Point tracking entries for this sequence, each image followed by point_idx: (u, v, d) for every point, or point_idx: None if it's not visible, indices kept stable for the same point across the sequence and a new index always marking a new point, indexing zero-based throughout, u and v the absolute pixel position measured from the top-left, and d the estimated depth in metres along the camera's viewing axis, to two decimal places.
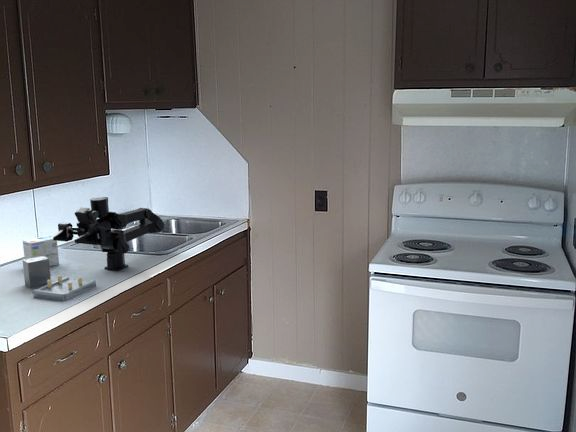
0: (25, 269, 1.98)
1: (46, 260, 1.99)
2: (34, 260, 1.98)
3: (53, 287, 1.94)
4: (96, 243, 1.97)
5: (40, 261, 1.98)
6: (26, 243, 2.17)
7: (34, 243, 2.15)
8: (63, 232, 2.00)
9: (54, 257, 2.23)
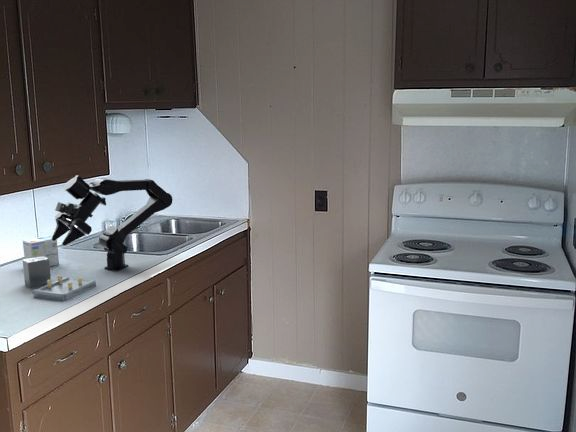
0: (25, 269, 1.98)
1: (46, 260, 1.99)
2: (34, 260, 1.98)
3: (53, 287, 1.94)
4: (83, 235, 2.01)
5: (40, 261, 1.98)
6: (26, 243, 2.17)
7: (34, 243, 2.15)
8: (59, 227, 2.08)
9: (54, 257, 2.23)
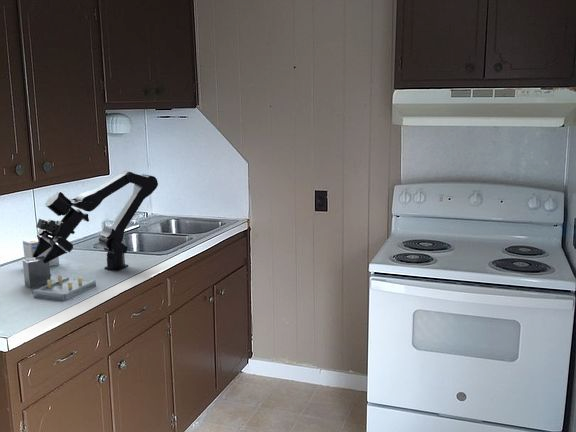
0: (25, 269, 1.98)
1: None
2: (34, 260, 1.98)
3: (53, 287, 1.94)
4: (65, 252, 1.98)
5: (40, 261, 1.98)
6: (26, 243, 2.17)
7: (34, 243, 2.15)
8: (41, 244, 2.04)
9: None
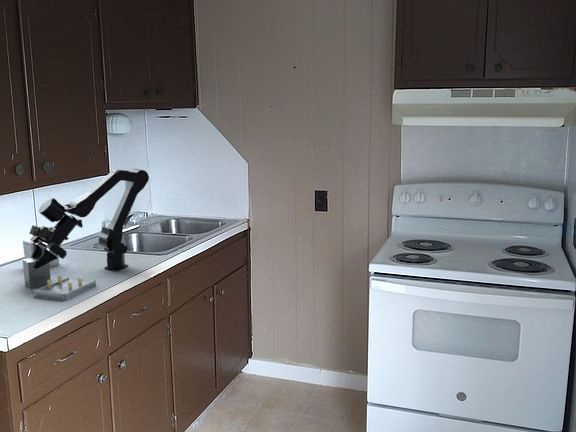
0: (25, 269, 1.98)
1: None
2: (34, 260, 1.98)
3: (53, 287, 1.94)
4: (56, 258, 1.98)
5: None
6: (26, 243, 2.17)
7: None
8: (36, 251, 2.02)
9: None
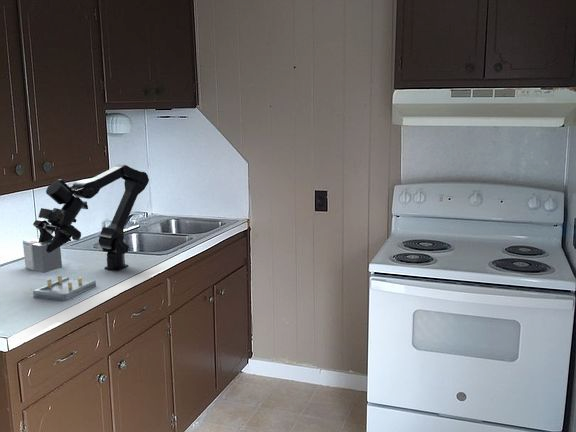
0: (36, 253, 1.91)
1: None
2: (45, 244, 1.92)
3: (53, 287, 1.94)
4: (69, 240, 1.94)
5: None
6: (26, 243, 2.17)
7: (34, 243, 2.16)
8: (44, 235, 1.96)
9: None
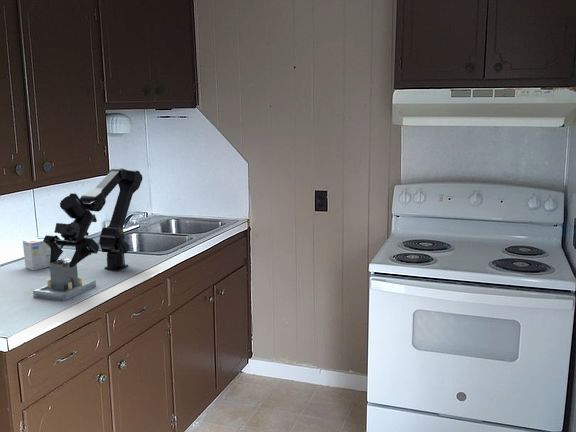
0: (55, 273, 1.89)
1: None
2: (64, 262, 1.90)
3: None
4: (89, 254, 1.94)
5: None
6: (26, 243, 2.17)
7: (34, 243, 2.15)
8: (55, 250, 1.94)
9: None
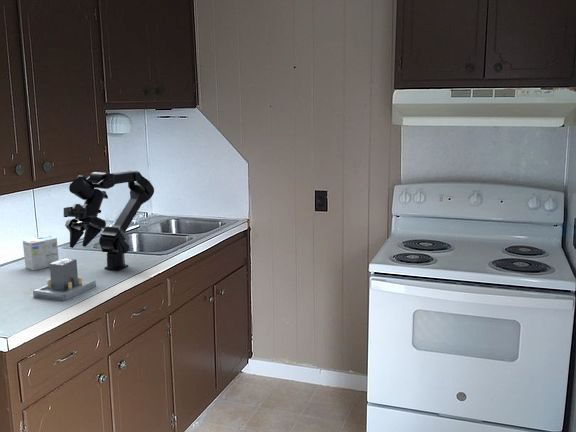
0: (55, 273, 1.89)
1: (74, 261, 1.93)
2: (64, 262, 1.90)
3: None
4: (100, 230, 1.98)
5: (70, 262, 1.92)
6: (26, 243, 2.17)
7: (34, 243, 2.15)
8: (73, 233, 2.05)
9: (54, 257, 2.23)
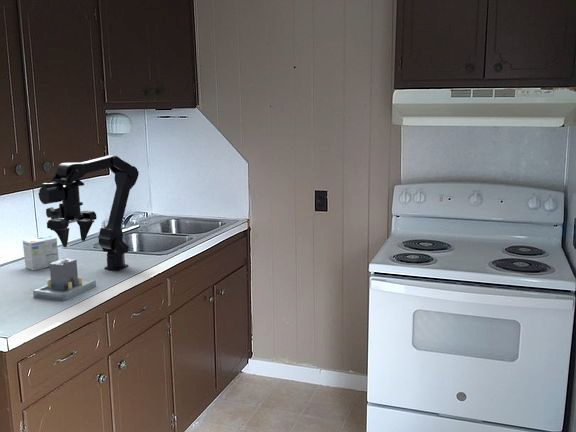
0: (55, 273, 1.89)
1: (74, 261, 1.93)
2: (64, 262, 1.90)
3: None
4: (62, 230, 1.94)
5: (70, 262, 1.92)
6: (26, 243, 2.17)
7: (34, 243, 2.15)
8: (80, 226, 2.07)
9: (54, 257, 2.23)
